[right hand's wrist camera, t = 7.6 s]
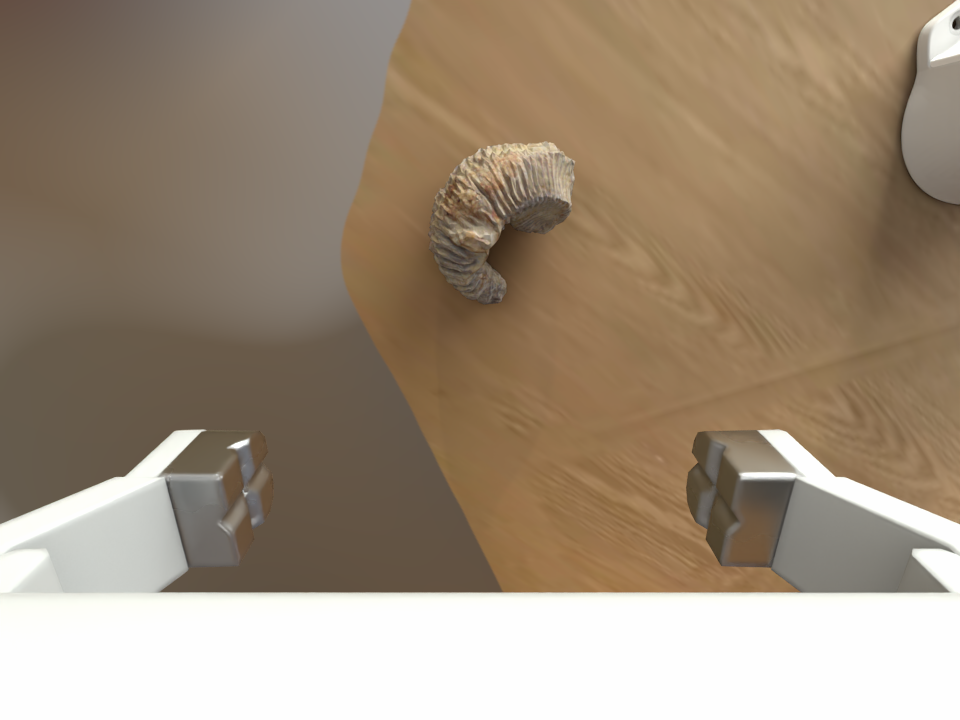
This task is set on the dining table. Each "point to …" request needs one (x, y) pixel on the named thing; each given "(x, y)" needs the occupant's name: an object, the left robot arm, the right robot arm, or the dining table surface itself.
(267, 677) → the right robot arm
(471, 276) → the seashell
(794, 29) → the dining table surface
